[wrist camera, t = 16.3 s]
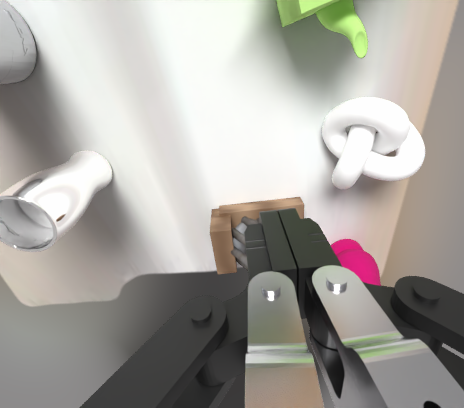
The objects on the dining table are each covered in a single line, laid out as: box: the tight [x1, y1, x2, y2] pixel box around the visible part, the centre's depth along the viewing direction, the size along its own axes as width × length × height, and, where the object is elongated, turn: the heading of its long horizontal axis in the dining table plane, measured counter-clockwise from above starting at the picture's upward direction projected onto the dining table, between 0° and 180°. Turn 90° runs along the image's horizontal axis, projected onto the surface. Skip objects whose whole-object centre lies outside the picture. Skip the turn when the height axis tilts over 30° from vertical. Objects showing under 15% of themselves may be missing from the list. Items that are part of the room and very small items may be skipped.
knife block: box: [210, 197, 304, 274], centre depth 38 cm, size 15×9×11 cm, turn 97°
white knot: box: [322, 97, 425, 189], centre depth 32 cm, size 11×12×9 cm
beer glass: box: [0, 150, 112, 252], centre depth 31 cm, size 7×7×15 cm
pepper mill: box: [331, 239, 381, 286], centre depth 38 cm, size 7×7×20 cm
